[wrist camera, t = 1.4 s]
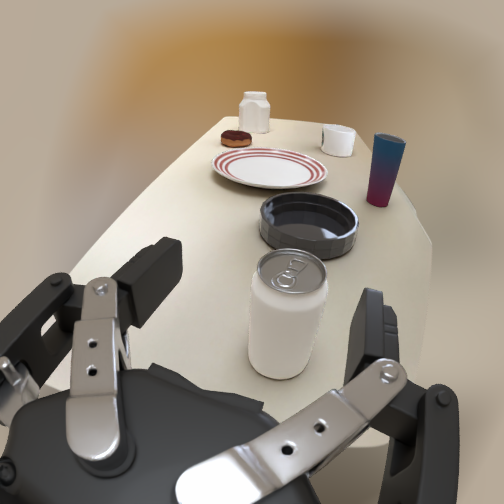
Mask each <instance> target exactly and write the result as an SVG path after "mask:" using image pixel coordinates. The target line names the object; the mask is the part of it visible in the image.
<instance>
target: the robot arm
mask: <svg viewBox="0 0 504 504" xmlns="http://www.w3.org/2000/svg"><path fill="white" fill-rule="evenodd" d="M182 272H183V265H182V244H181V241H180V240H176V239H172V238H168V237H163V238H162V239H160V240H159V241H158V242H157V243H156V244H155V245H150V246H148V247H145V248H143V249H141V250H140V251H139V252H138V253H137V254H136V255H135V257H134V256H133V257H132V258H131V259H130V260H129V262H127V263H126V264H124V265H123V266H122V267H121V268H120V269H119V270H118V271H117V272H116V273H114V274H113V275H112V276H111V277H110V278H109V277H99V278H96V279H93V280H91V281H90V282H89V283H88V284H87V285H77V284H73V283H72V280H71V277H70V275H68V274H67V273H55V274H52V275H50V276H49V277H47V278H46V279H45V280H44V281H43V282H42V283H41V284H39V285H38V286H37V287H36V288H35V289H34V290H33V291H32V292H31V293H30V294H29V295H28V296H27V297H26V298H24V299H23V300H22V302H20V303H19V304H18V306H16V307H15V309H13V310H12V311H11V312H10V313H9V314H8V315H7V316H6V317H5V318H4V319H3V320H2V321H1V323H0V424H1V425H3V426H7V427H9V428H10V430H9V436H8V440H7V444H6V447H5V450H4V452H3V454H2V456H1V458H0V504H321V503H320V501H319V499H318V497H317V495H316V493H315V491H314V489H313V487H312V485H311V483H310V481H309V478H310V477H312V476H313V475H314V474H316V473H317V472H318V471H320V470H321V469H322V468H323V467H325V466H326V465H327V464H329V463H330V462H331V461H332V460H333V459H334V458H335V457H337V456H338V455H339V454H340V453H341V452H342V451H344V450H345V449H346V448H347V447H348V446H350V445H351V444H352V443H353V442H354V441H355V440H356V439H358V438H359V437H360V436H361V435H362V434H363V433H364V432H365V431H366V430H368V429H369V428H370V427H372V428H374V429H376V430H378V431H380V432H382V433H384V434H386V435H388V436H390V440H389V447H388V454H387V460H386V466H385V471H384V477H383V481H382V486H381V491H380V496H379V501H378V504H456V500H457V490H458V476H459V446H460V444H459V442H460V440H459V411H458V410H459V409H458V399H457V396H456V394H455V393H454V392H453V391H452V390H451V389H450V388H449V387H447V386H445V385H442V384H435V385H432V386H431V387H429V389H428V390H426V389H424V388H422V387H420V386H418V385H416V384H414V383H412V382H411V381H410V380H408V379H407V373H406V371H405V369H404V368H403V366H402V365H401V364H400V362H399V342H398V328H397V316H396V314H395V312H394V311H393V309H392V307H391V306H387V305H383V292H382V291H377V290H373V289H369V288H364V290H363V293H362V295H361V298H360V301H359V303H358V306H357V308H356V311H355V313H354V316H353V319H352V322H351V327H350V335H349V344H348V353H347V362H346V370H345V377H344V384H343V387H342V388H341V389H340V390H338V391H337V390H336V389H332V390H330V391H329V392H327V393H326V394H324V395H323V396H321V397H320V398H319V399H317V400H316V401H314V402H313V403H311V404H310V405H308V406H307V407H305V408H304V409H302V410H301V411H299V412H298V413H296V414H295V415H293V416H292V417H290V418H288V419H287V420H285V421H284V422H282V423H281V424H279V422H277V421H276V420H275V419H274V418H273V417H272V416H270V415H269V414H267V413H266V412H264V411H262V409H263V405H264V402H261V401H257V400H254V399H251V398H247V397H244V396H241V395H238V394H235V393H226V392H217V391H209V390H203V389H201V388H199V387H197V386H196V385H194V384H193V383H191V382H190V381H188V380H187V379H186V378H184V377H183V376H181V375H180V374H178V373H177V372H174V371H172V370H169V369H167V368H164V367H162V366H159V365H157V364H155V363H152V364H151V366H150V367H149V368H148V370H147V369H132V367H131V358H130V347H129V334H128V328H129V326H130V325H132V326H135V327H137V328H139V329H140V328H141V327H142V326H143V325H144V324H145V322H146V321H147V320H148V319H149V317H150V316H151V315H152V314H153V313H154V311H155V310H156V309H157V308H158V307H159V305H160V304H161V303H162V302H163V300H164V299H165V298H166V297H167V296H168V294H169V293H170V292H171V291H172V290H173V289H174V287H175V286H176V285H177V284H178V283H179V281H180V279H181V276H182ZM52 315H54V317H55V319H56V322H55V323H54V324H53V325H52V326H51V327H50V328H49V329H48V330H47V332H46V333H45V334H44V335H43V336H41V328H42V326H43V325H44V324H45V322H46V321H47V320H48V319H49V318H50V317H51V316H52ZM71 349H72V358H71V376H70V389H68V390H65V391H62V392H58V393H55V394H52V395H49V396H46V397H43V398H40V399H38V396H39V390H40V388H41V387H42V386H43V384H44V383H45V382H46V380H47V379H48V378H49V377H50V375H51V374H52V373H53V371H54V370H55V369H56V368H57V366H58V365H59V364H60V362H61V361H62V360H63V359H64V357H65V356H66V355H67V354H68V352H69V351H70V350H71Z"/></svg>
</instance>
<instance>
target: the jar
mask: <svg viewBox="0 0 504 504" xmlns="http://www.w3.org/2000/svg"><path fill="white" fill-rule="evenodd" d="M269 118H270V105H269V103H268V102H267V100H266V93H264V92H244V99H243V100H242V102H241V103H240V104H239V131H244V132H247V133H256V134H264V133H267V132H269Z"/></svg>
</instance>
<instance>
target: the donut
mask: <svg viewBox="0 0 504 504" xmlns="http://www.w3.org/2000/svg"><path fill="white" fill-rule="evenodd" d="M221 142H222V143H223V144H225V145H227V146H230V147H243V146H247V145H249V144H250V143H251V142H252V137H251V135H250V134H249V133H247V132H244V131H233V130H228V131H224V132H223V133H222V134H221Z"/></svg>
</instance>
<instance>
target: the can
mask: <svg viewBox="0 0 504 504" xmlns="http://www.w3.org/2000/svg"><path fill="white" fill-rule="evenodd" d="M326 278H327V270H326V267H325V265H324V264H323V263H322V261H321V260H320V259H318V258H317V257H316V256H314V255H312V254H310V253H308V252H305V251H302V250H298V249H278V250H274V251H271V252H269V253H267V254H265V255H264V256H263V257H262V258H261V259H260V260H259V262H258V265H257V270H256V271H255V273H254V275H253V277H252V282H251V296H250V318H249V343H248V356H249V360H250V363H251V365H252V366H253V367H254V369H255V370H256V371H257V372H259V373H260V374H262V375H264V376H266V377H269V378H273V379H288V378H291V377H294V376H296V375H298V374H299V373H301V372H302V371H303V370H304V368H305V367H306V365H307V363H308V361H309V358H310V355H311V351H312V348H313V345H314V342H315V338H316V335H317V332H318V328H319V325H320V321H321V318H322V314H323V310H324V307H325V303H326V299H327V294H328V283H327V280H326Z"/></svg>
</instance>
